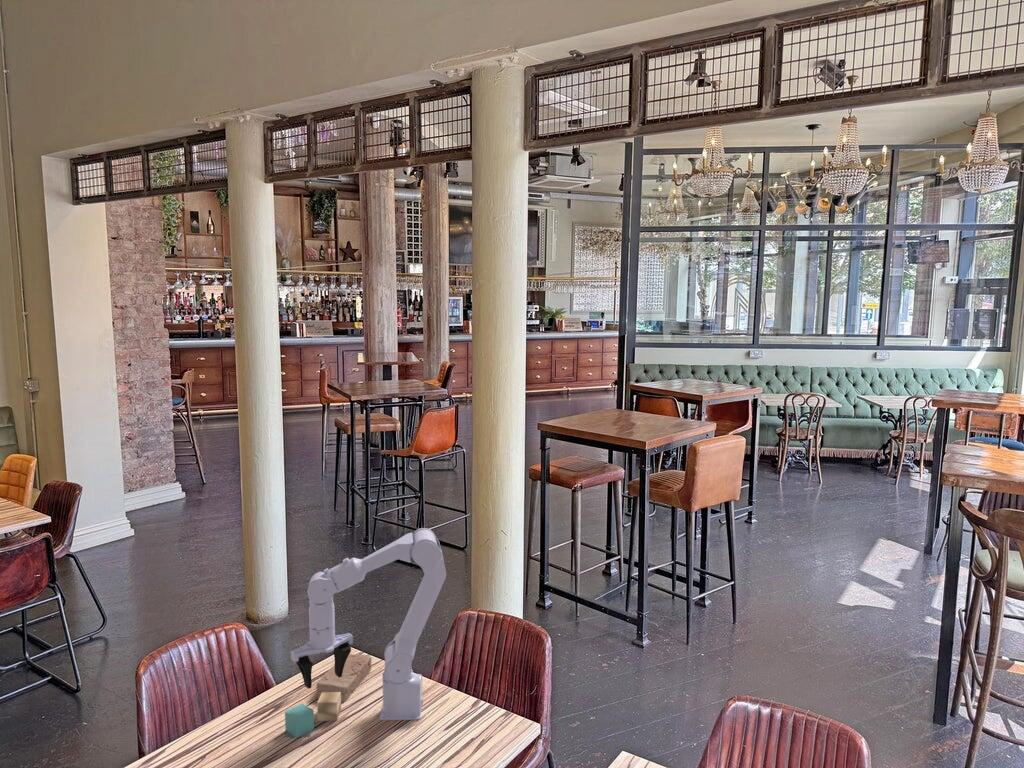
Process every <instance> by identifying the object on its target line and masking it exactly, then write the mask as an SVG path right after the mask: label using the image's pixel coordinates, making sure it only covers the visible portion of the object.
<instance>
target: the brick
mask: <svg viewBox="0 0 1024 768" xmlns="http://www.w3.org/2000/svg"><path fill="white" fill-rule="evenodd" d="M371 670H372V656H370V655H367V654H358V653H356V654H355V653H353V654H351V653H350V654H349V655H348V657H347V660H346V662H345V665H344V669H343V673H342V677H340V678H339V677H338V676H337V675H336V674H335V663H334V665H333V666H331V668H329V669H328V670H327V671H326V672H325V673H324V674H323V675H322V676H321V678H320V679H319V680H318V681H317V682H316V695H315V698H316V699H318V700H319V698H320V696H321V693H322V692H341V703H346V702H347V701H348V700H349V699H350V698H351V696H352V694H353V693H354V692H355V691H356V689H357V688H358V687H359V686H360V685H361V684H362V682H363V681H364V680H365V678H366V677H367V676H368V675H369V673H370V672H371Z"/></svg>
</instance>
